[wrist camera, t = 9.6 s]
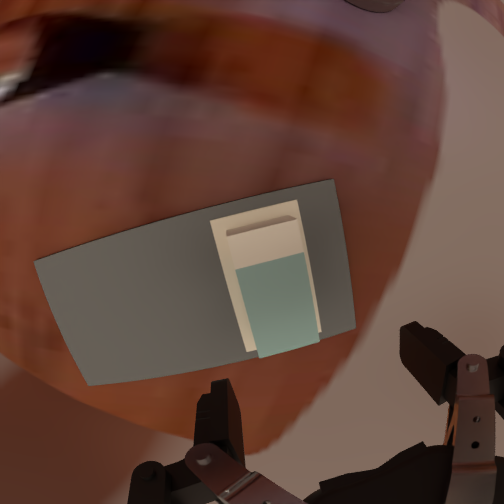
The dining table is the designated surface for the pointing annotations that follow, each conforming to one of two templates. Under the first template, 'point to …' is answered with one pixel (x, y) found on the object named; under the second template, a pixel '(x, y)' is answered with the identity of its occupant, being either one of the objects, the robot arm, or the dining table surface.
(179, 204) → the dining table surface
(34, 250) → the dining table surface
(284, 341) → the two-tone rectangular block
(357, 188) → the dining table surface
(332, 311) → the mat
